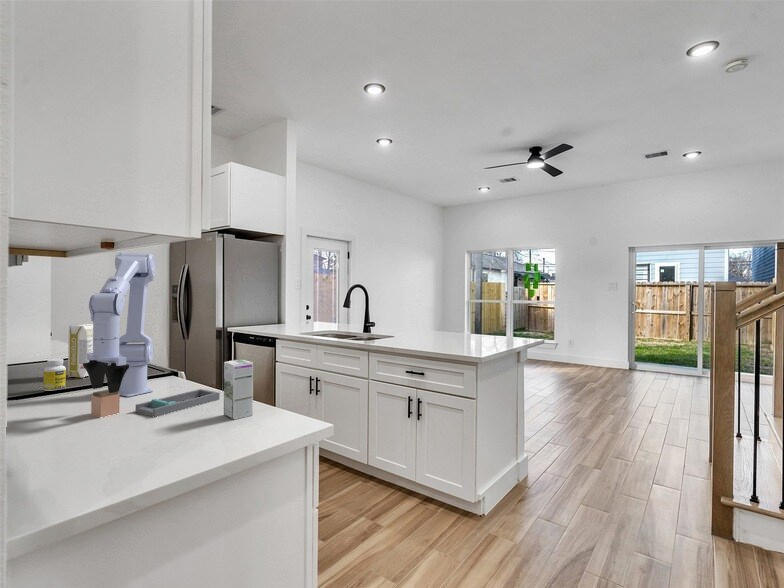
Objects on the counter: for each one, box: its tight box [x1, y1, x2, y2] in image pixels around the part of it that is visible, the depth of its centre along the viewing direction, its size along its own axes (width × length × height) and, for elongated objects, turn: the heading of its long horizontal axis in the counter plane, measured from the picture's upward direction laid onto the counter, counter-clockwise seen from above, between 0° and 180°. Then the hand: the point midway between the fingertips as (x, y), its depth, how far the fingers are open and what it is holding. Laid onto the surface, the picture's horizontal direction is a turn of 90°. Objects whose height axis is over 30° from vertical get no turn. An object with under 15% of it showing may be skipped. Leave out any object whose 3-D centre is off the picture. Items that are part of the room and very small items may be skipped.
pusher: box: [151, 398, 178, 409], centre depth 112 cm, size 6×5×2 cm
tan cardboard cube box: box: [90, 389, 121, 418], centre depth 106 cm, size 4×4×6 cm
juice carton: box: [67, 323, 93, 377], centre depth 148 cm, size 8×9×19 cm
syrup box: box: [223, 359, 254, 420], centre depth 108 cm, size 6×6×14 cm
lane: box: [135, 388, 221, 418], centre depth 116 cm, size 8×20×2 cm, turn 153°
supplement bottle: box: [43, 358, 67, 389], centre depth 128 cm, size 5×5×10 cm
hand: (105, 390), depth 106 cm, fingers open, 7 cm apart
